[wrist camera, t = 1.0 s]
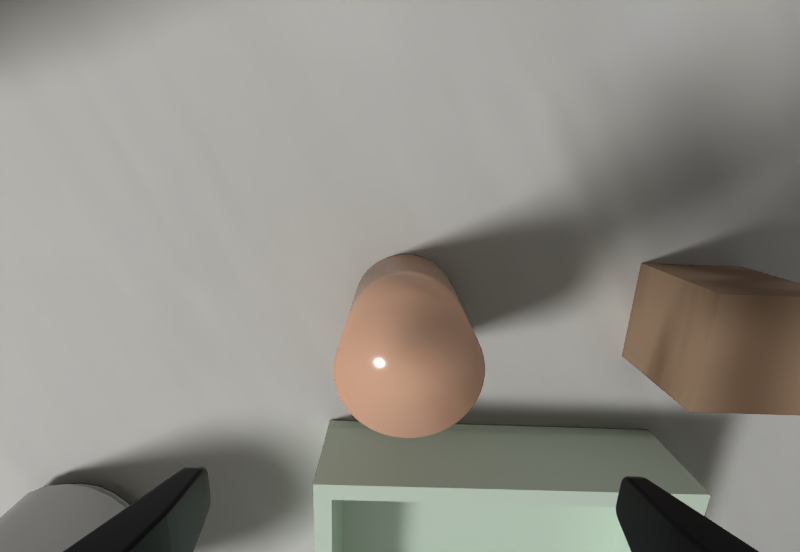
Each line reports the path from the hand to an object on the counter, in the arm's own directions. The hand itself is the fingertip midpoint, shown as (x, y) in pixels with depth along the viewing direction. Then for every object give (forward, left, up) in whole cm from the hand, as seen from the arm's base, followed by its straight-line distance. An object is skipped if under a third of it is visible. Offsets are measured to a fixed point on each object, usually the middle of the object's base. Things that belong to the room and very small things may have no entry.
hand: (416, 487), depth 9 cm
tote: (-5, +14, -12) cm, 19 cm away
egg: (0, 0, -12) cm, 12 cm away
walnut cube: (-14, 0, -12) cm, 18 cm away
